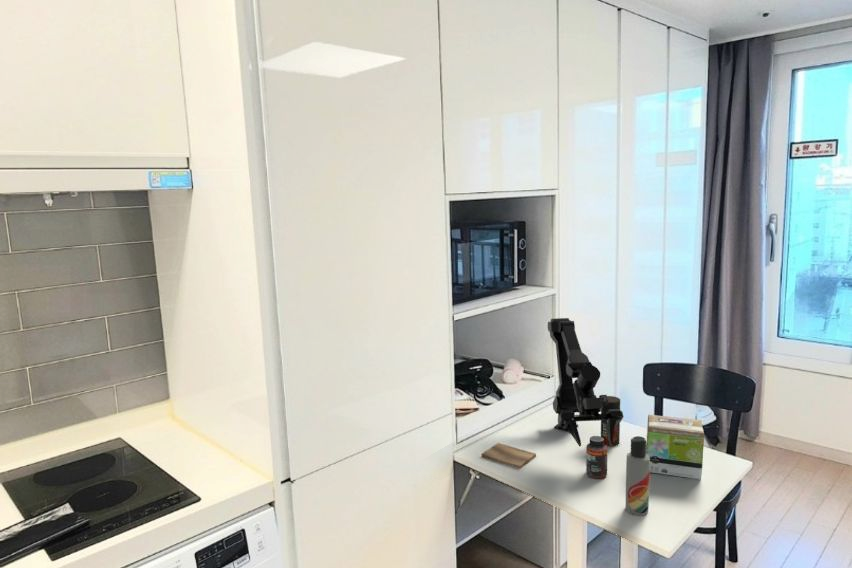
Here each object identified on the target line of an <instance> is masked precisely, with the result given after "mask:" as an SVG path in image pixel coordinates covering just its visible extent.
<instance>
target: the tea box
mask: <svg viewBox="0 0 852 568" xmlns="http://www.w3.org/2000/svg"><path fill="white" fill-rule="evenodd" d="M646 427H647V428H646V429H647V430H646V441H647V444H646V454H647V455H649V457H650V473H653V474H659V475H660V474H661V475H668V476H675V477H682V478H688V479H694V480H699V481H700V480H701V479H702V475H703V466H704V465H703V463H704V462H703V458H704V445H705V444H704V443H705V432H704V428H703V423H702V420H701V419H695V418H694V419H693V418H683V417H675V416H674V417H673V416H665V415H657V414H648V415H647V426H646Z"/></svg>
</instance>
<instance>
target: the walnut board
mask: <svg viewBox="0 0 852 568" xmlns="http://www.w3.org/2000/svg"><path fill="white" fill-rule="evenodd" d="M480 455H481V458H483V459H485V460H486V459H487V460H490V461H493V462H496V463H499V464H502V463H503V464H502V465H505V464H506V465H505V466H509V465H510V466H509V467H512V466H513V468H515V467H516V468H515V469H518V468H519V470H521V469H523V468H524V467H525V466H526V465H527V464H529V463H530V462H532V460H534V459H535V458H536V457H537V453H534V452H532V451H528V450H524V449H521V448H518V447H515V446H510V445H507V444H503V443H501V442H497V443H496V444H494V445H493V446H491V447H490V448H488V449H487V450H485V451H484V452H482V453H481V454H480Z"/></svg>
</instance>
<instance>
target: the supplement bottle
mask: <svg viewBox="0 0 852 568" xmlns="http://www.w3.org/2000/svg"><path fill="white" fill-rule="evenodd" d="M585 449H586V451H585V452H586V453H585V454H586V455H585V457H586V458H585V459H586V464H585V465H586V467H585V468H586V469H585V470H586V474H587V476H589V477H591V478H593V479H604V478H606V477H607V475H608V446H606V445H605V444H604V439H603V438H602V437H601V435H600V436H599V435H591V436H590V437H589V443H588V444H587V445H586V448H585Z"/></svg>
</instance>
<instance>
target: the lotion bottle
mask: <svg viewBox="0 0 852 568" xmlns="http://www.w3.org/2000/svg"><path fill="white" fill-rule="evenodd" d="M646 446H647V438H645V437H643V436H638V435H637V436H633V437H631V439H630V452H628V453H626V466H625V467H626V468H625V471H626V472H625V510H626V511H627V512H628V513H630V514H631V515H635V516H645V515H647V514H648V513H649V505H650V503H649V502H650V473H651V472H650V457H649V455H647V454H646Z"/></svg>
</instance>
